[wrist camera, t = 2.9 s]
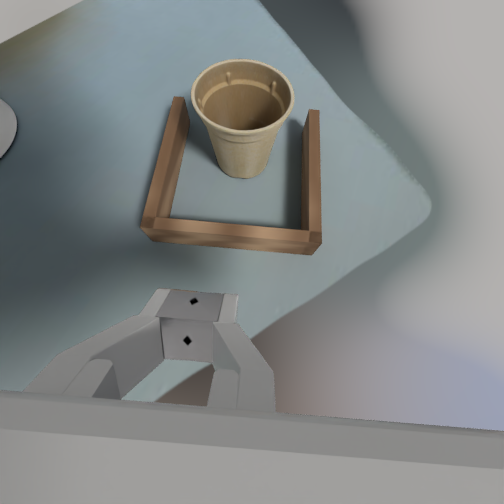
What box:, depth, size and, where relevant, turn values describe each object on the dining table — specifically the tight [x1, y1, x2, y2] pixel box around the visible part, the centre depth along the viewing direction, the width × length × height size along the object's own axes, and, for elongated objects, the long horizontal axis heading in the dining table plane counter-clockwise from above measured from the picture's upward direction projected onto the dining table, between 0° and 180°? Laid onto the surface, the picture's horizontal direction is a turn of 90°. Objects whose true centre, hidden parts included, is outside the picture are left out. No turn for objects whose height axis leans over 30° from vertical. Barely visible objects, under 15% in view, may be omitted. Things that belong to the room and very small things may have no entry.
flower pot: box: [191, 59, 294, 179], centre depth 26 cm, size 9×9×9 cm
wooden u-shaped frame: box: [140, 97, 322, 255], centre depth 27 cm, size 17×17×4 cm
